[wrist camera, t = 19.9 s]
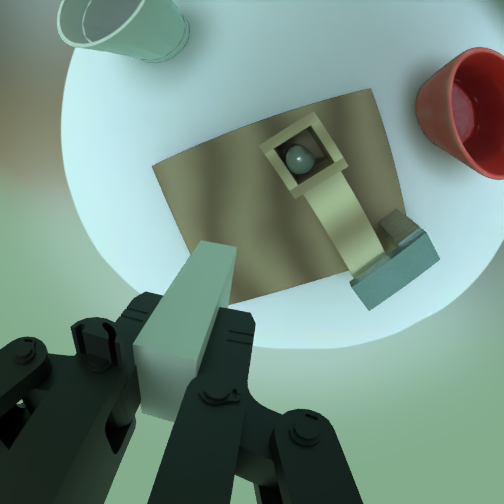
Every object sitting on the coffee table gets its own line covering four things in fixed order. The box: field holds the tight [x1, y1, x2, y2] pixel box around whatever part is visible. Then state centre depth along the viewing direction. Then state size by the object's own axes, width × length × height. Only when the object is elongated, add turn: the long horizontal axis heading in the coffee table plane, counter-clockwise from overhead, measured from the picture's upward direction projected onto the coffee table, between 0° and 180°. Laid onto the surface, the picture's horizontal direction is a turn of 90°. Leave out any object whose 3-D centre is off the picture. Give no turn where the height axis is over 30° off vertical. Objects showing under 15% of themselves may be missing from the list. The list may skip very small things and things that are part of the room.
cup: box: [57, 0, 189, 63], centre depth 18 cm, size 8×8×12 cm
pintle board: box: [152, 88, 406, 305], centre depth 29 cm, size 22×17×1 cm
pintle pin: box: [285, 143, 314, 174], centre depth 24 cm, size 2×2×6 cm
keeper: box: [350, 209, 440, 311], centre depth 26 cm, size 3×8×7 cm, turn 131°
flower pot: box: [416, 47, 504, 180], centre depth 20 cm, size 11×11×10 cm
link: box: [259, 111, 386, 278], centre depth 26 cm, size 15×5×5 cm, turn 35°
